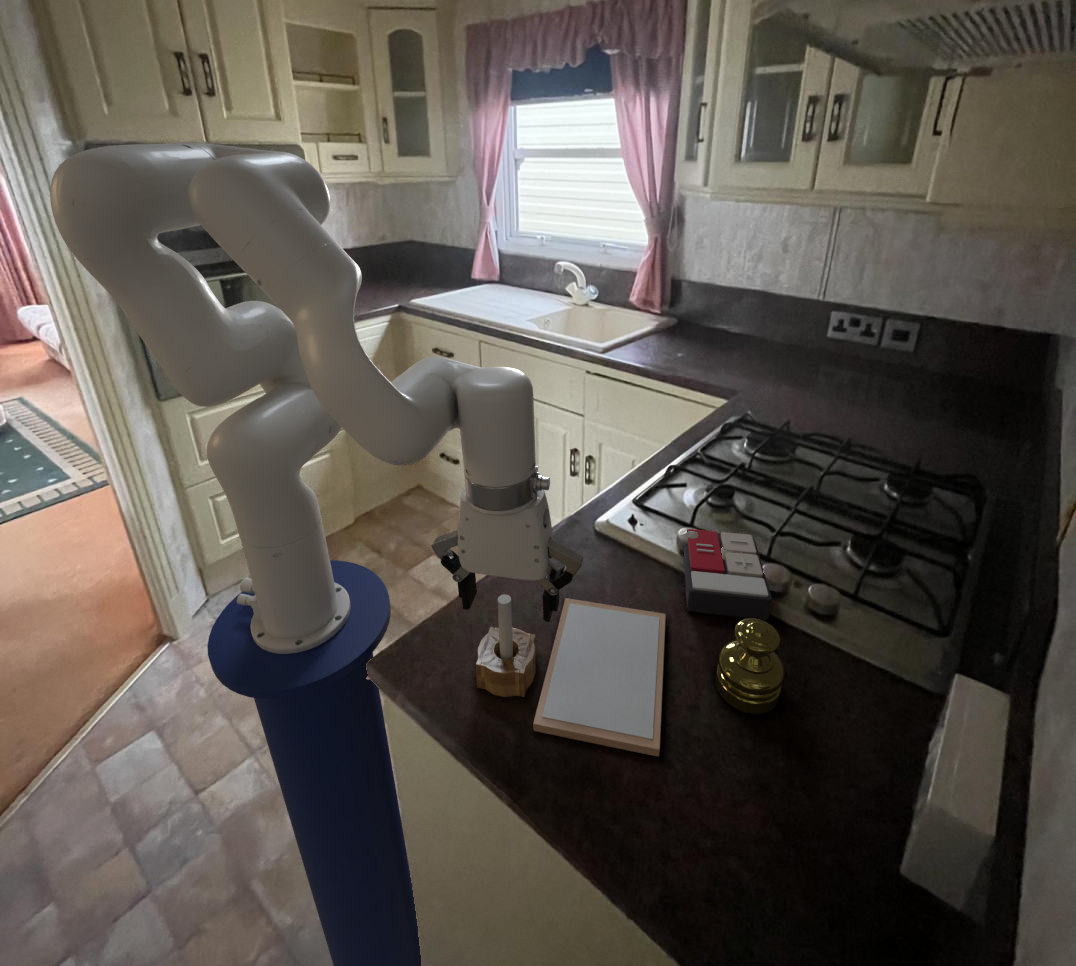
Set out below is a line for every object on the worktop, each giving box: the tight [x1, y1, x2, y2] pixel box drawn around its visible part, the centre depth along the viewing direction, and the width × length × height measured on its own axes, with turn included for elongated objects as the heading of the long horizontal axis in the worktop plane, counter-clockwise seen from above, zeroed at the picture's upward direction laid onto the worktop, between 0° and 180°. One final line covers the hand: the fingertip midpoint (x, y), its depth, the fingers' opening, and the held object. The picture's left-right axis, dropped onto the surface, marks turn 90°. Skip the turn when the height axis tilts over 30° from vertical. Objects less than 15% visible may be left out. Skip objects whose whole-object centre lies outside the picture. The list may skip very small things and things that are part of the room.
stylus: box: [497, 594, 513, 660], centre depth 72 cm, size 2×2×12 cm
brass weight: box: [715, 618, 786, 715], centre depth 70 cm, size 7×7×10 cm
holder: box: [475, 626, 537, 698], centre depth 74 cm, size 7×7×4 cm
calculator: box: [682, 528, 773, 621], centre depth 89 cm, size 11×4×15 cm
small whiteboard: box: [532, 597, 666, 757], centre depth 75 cm, size 14×20×1 cm
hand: (509, 607), depth 70 cm, fingers open, 9 cm apart
